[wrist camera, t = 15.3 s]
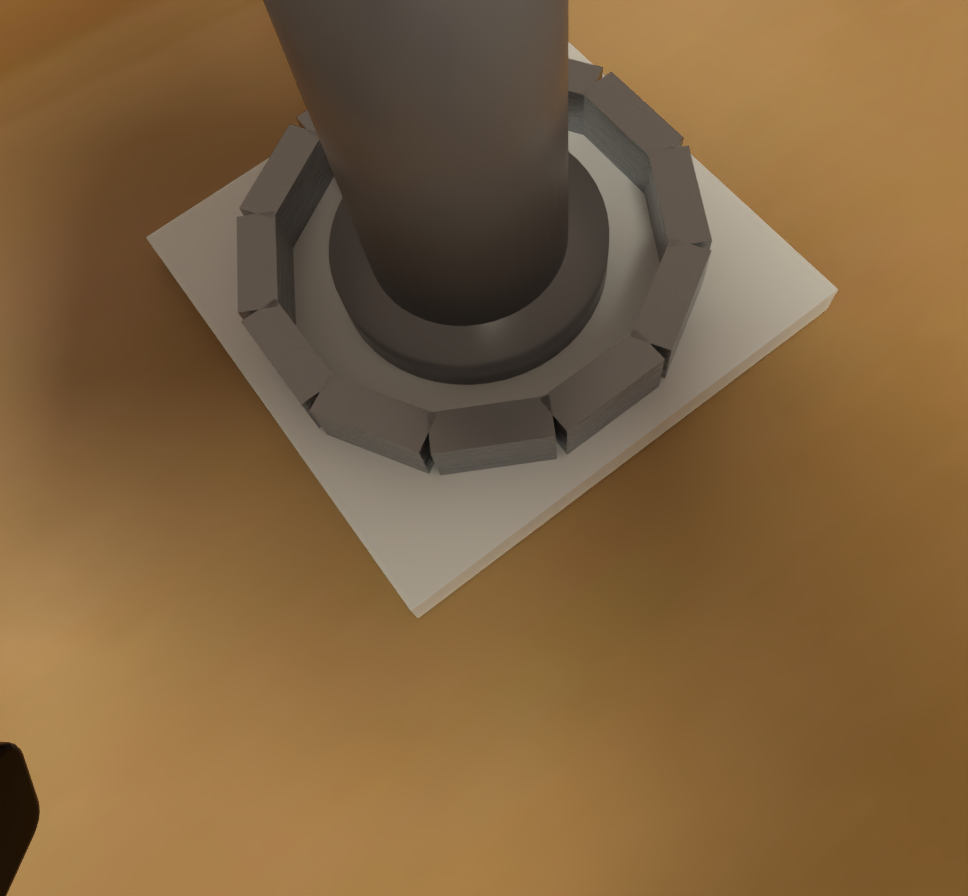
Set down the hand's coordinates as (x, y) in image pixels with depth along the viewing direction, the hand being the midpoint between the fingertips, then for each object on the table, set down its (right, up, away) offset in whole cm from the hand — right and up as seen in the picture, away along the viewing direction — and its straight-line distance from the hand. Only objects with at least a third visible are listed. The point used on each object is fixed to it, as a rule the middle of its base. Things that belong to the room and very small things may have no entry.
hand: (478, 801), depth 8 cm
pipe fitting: (0, +8, +14) cm, 17 cm away
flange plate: (0, +8, +15) cm, 17 cm away
